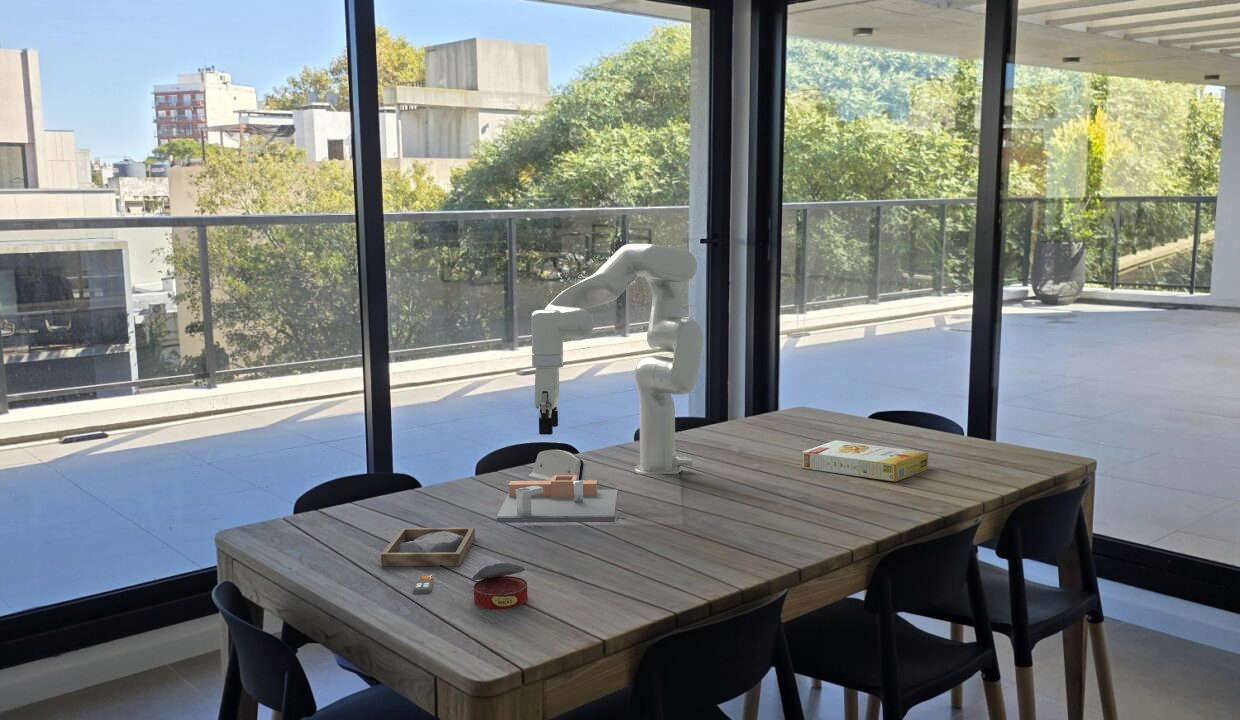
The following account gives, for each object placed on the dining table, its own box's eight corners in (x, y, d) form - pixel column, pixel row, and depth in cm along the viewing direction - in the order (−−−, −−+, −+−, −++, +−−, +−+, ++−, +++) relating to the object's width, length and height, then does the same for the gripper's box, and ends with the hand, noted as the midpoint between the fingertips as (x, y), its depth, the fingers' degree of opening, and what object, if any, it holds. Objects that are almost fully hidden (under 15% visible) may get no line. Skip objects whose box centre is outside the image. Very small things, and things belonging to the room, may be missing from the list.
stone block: (396, 566, 223) (431, 564, 218) (392, 543, 223) (427, 541, 218) (434, 552, 233) (469, 550, 228) (431, 531, 233) (465, 528, 228)
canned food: (477, 631, 195) (450, 583, 195) (502, 606, 205) (476, 560, 204) (524, 611, 191) (497, 562, 190) (548, 586, 200) (521, 540, 199)
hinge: (525, 481, 284) (534, 444, 285) (538, 484, 287) (546, 447, 288) (570, 492, 272) (578, 453, 273) (582, 494, 276) (591, 456, 277)
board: (617, 495, 268) (617, 489, 268) (614, 521, 246) (614, 515, 245) (510, 496, 269) (510, 490, 269) (496, 522, 247) (496, 516, 246)
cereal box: (897, 463, 274) (800, 449, 292) (896, 484, 275) (799, 469, 293) (929, 450, 290) (835, 437, 308) (929, 470, 291) (835, 456, 308)
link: (597, 490, 267) (597, 475, 267) (596, 497, 261) (595, 481, 261) (511, 491, 268) (511, 475, 268) (508, 497, 262) (507, 481, 262)
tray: (474, 538, 235) (474, 527, 235) (460, 565, 217) (459, 553, 217) (402, 539, 235) (401, 528, 235) (381, 566, 218) (380, 554, 217)
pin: (583, 506, 259) (583, 480, 258) (583, 509, 257) (582, 482, 256) (574, 506, 259) (573, 480, 258) (573, 509, 257) (573, 482, 256)
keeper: (537, 515, 252) (536, 485, 251) (544, 517, 250) (543, 487, 249) (516, 519, 249) (515, 489, 248) (523, 522, 247) (522, 491, 246)
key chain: (432, 595, 202) (432, 587, 202) (412, 596, 202) (412, 588, 202) (439, 572, 215) (438, 565, 215) (420, 573, 215) (419, 566, 214)
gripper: (537, 356, 269) (538, 423, 271) (526, 365, 252) (527, 437, 254) (567, 356, 268) (568, 423, 271) (558, 365, 251) (559, 437, 253)
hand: (548, 430), depth 262 cm, fingers open, 9 cm apart
